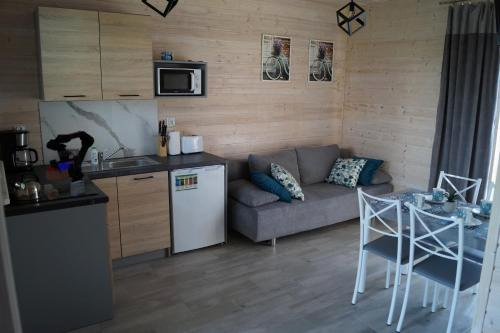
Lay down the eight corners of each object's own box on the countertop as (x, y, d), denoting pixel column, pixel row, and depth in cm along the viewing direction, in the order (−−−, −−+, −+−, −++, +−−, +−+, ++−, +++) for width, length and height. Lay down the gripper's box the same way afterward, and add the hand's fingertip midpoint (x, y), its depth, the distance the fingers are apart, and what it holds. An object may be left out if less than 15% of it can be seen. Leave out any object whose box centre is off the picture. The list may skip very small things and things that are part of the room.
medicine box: (76, 196, 267) (75, 183, 265) (70, 195, 268) (69, 182, 267) (85, 193, 274) (84, 180, 272) (80, 192, 275) (78, 180, 274)
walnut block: (56, 196, 266) (55, 189, 265) (58, 198, 262) (58, 190, 261) (48, 198, 262) (47, 190, 261) (50, 199, 259) (49, 192, 258)
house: (74, 174, 331) (73, 160, 329) (59, 180, 312) (58, 165, 310) (61, 174, 333) (60, 160, 331) (45, 179, 314) (44, 164, 311)
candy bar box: (65, 167, 358) (64, 149, 354) (68, 166, 363) (67, 148, 359) (78, 168, 357) (76, 149, 353) (81, 166, 361) (79, 148, 358)
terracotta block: (51, 192, 275) (50, 184, 274) (53, 194, 272) (52, 185, 271) (45, 193, 273) (44, 185, 271) (46, 195, 270) (46, 186, 268)
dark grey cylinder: (53, 194, 271) (52, 185, 270) (55, 196, 267) (54, 187, 266) (45, 195, 268) (44, 187, 266) (47, 197, 264) (46, 188, 263)
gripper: (47, 148, 265) (53, 169, 261) (77, 143, 275) (83, 163, 270) (47, 156, 274) (53, 177, 269) (76, 151, 284) (82, 171, 279)
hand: (68, 172), depth 272 cm, fingers open, 9 cm apart
